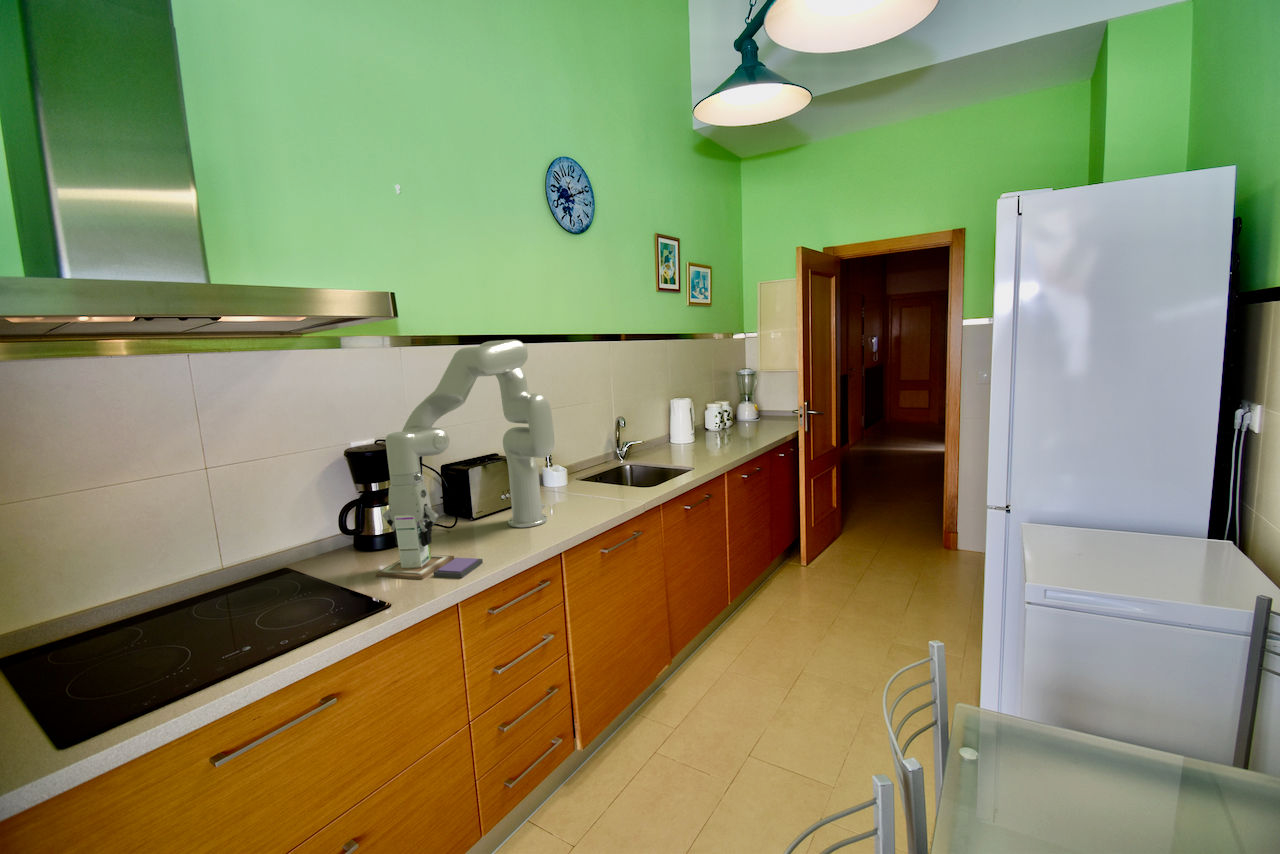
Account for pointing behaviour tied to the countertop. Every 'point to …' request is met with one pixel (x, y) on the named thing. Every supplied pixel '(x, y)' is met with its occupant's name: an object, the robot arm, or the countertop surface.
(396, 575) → the board
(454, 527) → the countertop surface
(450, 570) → the ink pad
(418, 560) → the syrup box
